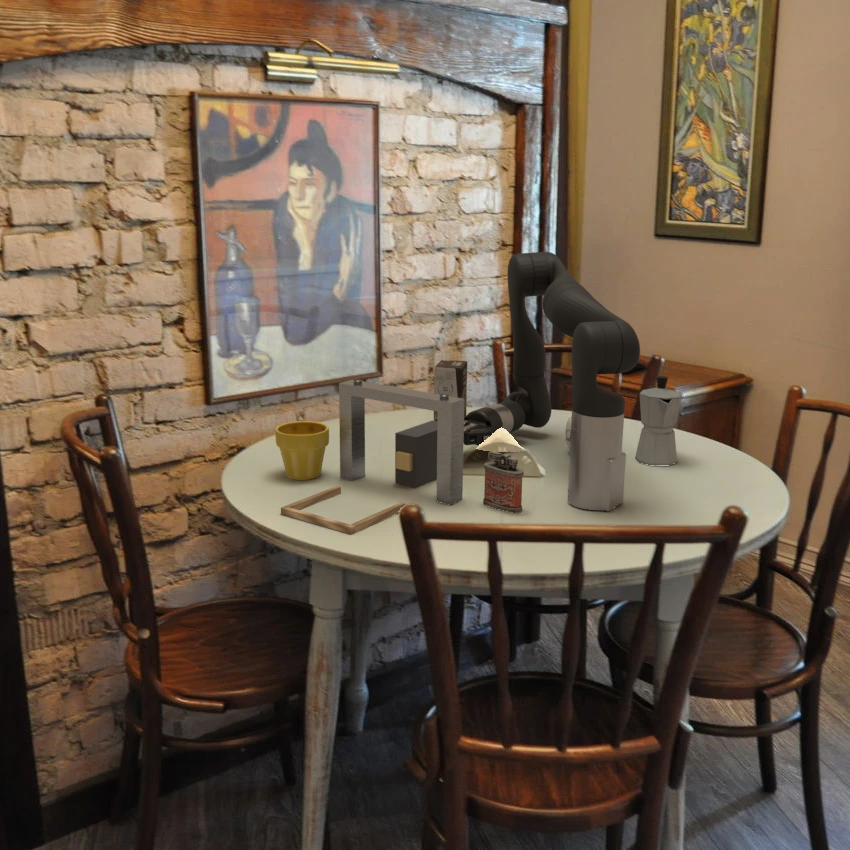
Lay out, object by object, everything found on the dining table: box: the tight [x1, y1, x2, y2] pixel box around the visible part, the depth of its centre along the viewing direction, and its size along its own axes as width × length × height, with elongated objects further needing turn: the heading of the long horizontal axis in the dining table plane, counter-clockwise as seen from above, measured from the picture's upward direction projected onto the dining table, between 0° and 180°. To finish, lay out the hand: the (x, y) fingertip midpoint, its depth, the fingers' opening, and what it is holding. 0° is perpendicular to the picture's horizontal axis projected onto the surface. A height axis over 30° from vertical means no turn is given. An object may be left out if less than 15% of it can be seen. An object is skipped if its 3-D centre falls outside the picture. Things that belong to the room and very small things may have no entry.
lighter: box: [482, 450, 525, 514], centre depth 175 cm, size 8×3×10 cm, turn 48°
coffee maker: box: [634, 375, 683, 466], centre depth 204 cm, size 15×9×18 cm, turn 0°
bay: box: [280, 485, 406, 535], centre depth 173 cm, size 16×15×1 cm
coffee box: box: [433, 359, 468, 422], centre depth 223 cm, size 9×6×16 cm
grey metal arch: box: [338, 379, 464, 506], centre depth 183 cm, size 26×4×20 cm, turn 54°
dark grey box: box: [394, 420, 438, 489], centre depth 191 cm, size 5×13×10 cm, turn 144°
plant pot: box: [274, 420, 330, 481], centre depth 192 cm, size 10×10×10 cm
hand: (442, 441), depth 195 cm, fingers closed
